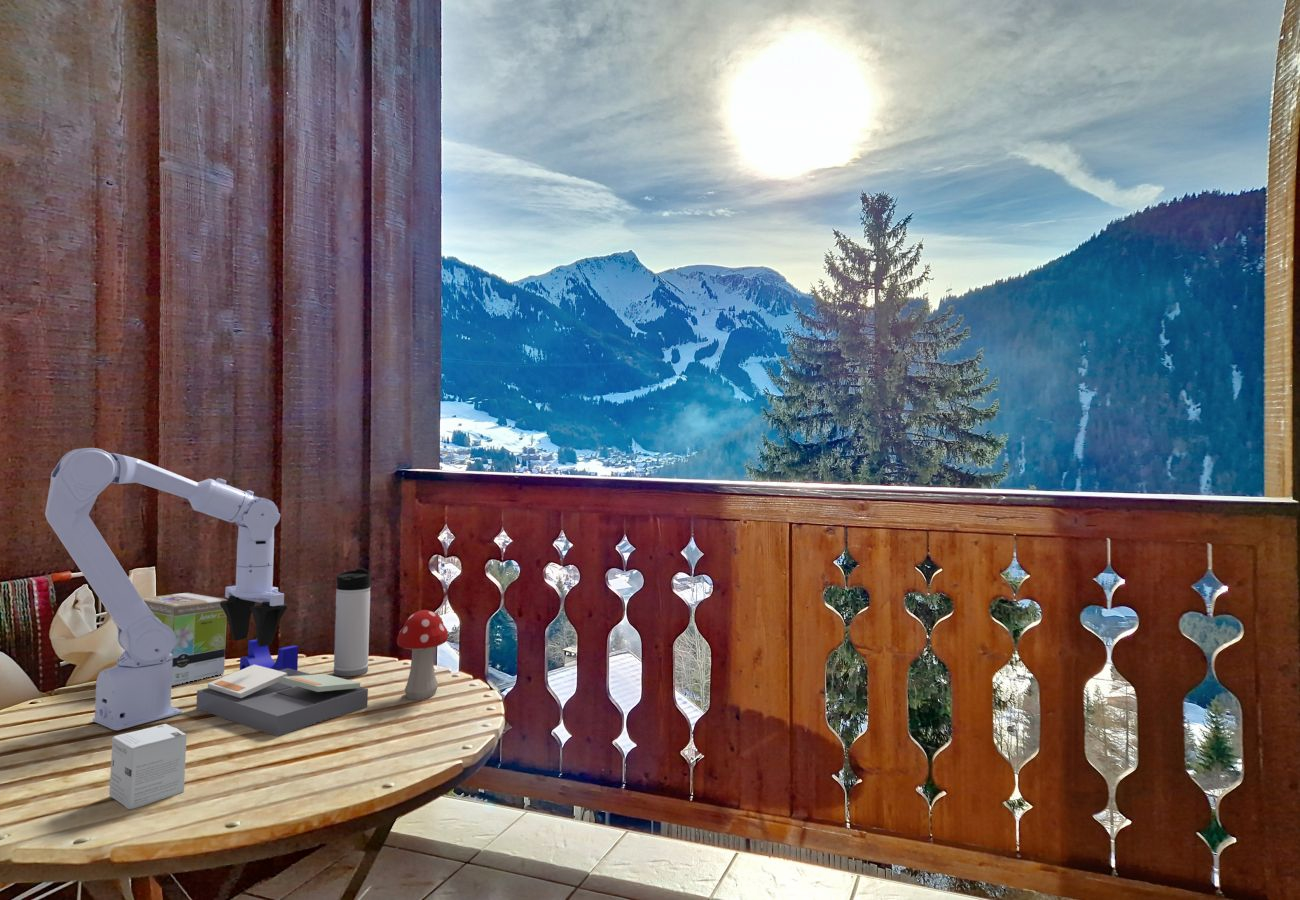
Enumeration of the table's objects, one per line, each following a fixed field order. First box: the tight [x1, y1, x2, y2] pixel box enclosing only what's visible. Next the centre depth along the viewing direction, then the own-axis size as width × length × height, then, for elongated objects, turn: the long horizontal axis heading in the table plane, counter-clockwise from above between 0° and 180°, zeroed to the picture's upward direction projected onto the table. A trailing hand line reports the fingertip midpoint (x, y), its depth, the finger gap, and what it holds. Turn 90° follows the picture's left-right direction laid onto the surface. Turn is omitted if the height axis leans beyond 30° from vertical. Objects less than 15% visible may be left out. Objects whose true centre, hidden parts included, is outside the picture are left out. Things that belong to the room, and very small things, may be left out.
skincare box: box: [109, 723, 188, 810], centre depth 87 cm, size 6×6×7 cm
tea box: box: [141, 592, 228, 687], centre depth 136 cm, size 15×10×15 cm
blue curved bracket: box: [239, 638, 299, 671], centre depth 137 cm, size 12×4×6 cm, turn 58°
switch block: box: [195, 668, 369, 737], centre depth 121 cm, size 22×22×3 cm
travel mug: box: [333, 568, 371, 678], centre depth 140 cm, size 6×7×20 cm
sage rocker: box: [281, 673, 361, 692], centre depth 118 cm, size 8×10×1 cm
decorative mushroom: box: [396, 609, 449, 701], centre depth 127 cm, size 10×9×15 cm
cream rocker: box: [207, 664, 288, 698], centre depth 119 cm, size 8×10×1 cm
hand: (252, 642), depth 124 cm, fingers open, 7 cm apart
